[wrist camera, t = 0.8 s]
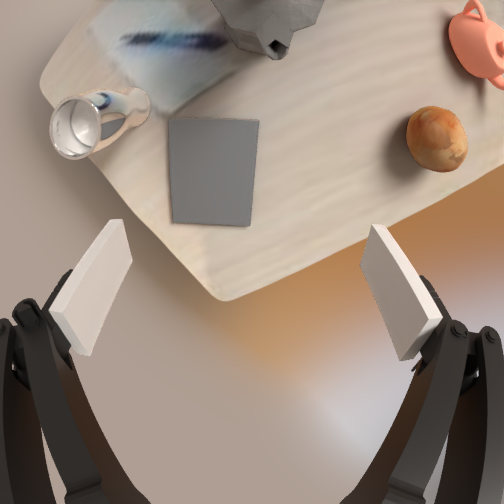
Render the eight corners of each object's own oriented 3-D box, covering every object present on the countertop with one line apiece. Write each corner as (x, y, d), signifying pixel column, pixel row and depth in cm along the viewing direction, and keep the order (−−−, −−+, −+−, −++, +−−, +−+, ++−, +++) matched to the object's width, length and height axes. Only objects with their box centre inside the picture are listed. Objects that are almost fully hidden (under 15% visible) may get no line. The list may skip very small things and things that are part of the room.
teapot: (465, -2, 17) (501, -5, 9) (503, 85, 25) (538, 96, 17) (426, 9, 21) (463, 2, 13) (471, 104, 29) (508, 118, 21)
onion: (449, 116, 31) (489, 133, 23) (430, 168, 37) (465, 193, 29) (405, 90, 30) (446, 99, 22) (386, 147, 36) (421, 170, 27)
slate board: (171, 118, 33) (168, 119, 32) (258, 119, 34) (259, 121, 33) (174, 218, 42) (173, 222, 42) (250, 222, 43) (250, 226, 42)
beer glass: (128, 75, 29) (66, 81, 17) (163, 101, 32) (115, 117, 20) (102, 114, 32) (39, 140, 20) (135, 139, 35) (82, 175, 22)
